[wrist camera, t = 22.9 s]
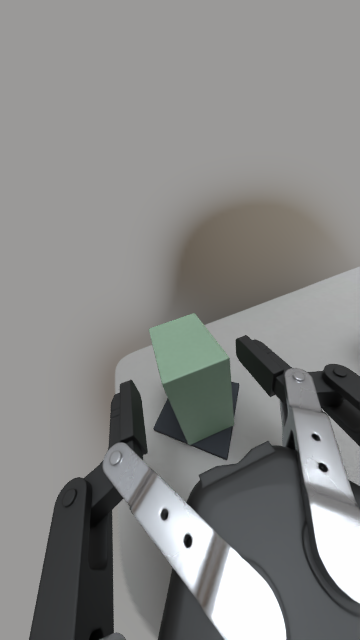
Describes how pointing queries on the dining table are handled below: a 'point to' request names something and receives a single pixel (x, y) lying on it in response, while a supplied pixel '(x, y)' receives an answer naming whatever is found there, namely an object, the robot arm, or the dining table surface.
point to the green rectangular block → (194, 376)
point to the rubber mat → (211, 444)
